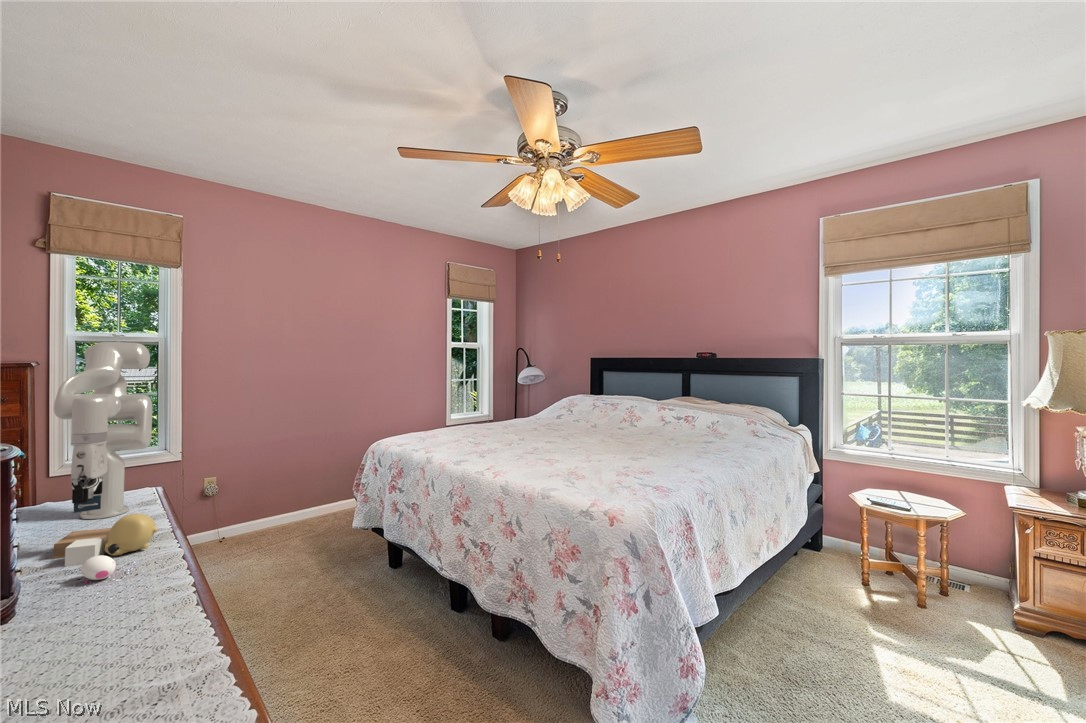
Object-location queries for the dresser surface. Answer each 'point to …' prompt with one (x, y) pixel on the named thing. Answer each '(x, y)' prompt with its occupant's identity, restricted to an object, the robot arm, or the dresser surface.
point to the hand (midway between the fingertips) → (87, 498)
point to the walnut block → (78, 535)
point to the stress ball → (98, 567)
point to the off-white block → (83, 550)
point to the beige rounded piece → (130, 534)
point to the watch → (90, 497)
